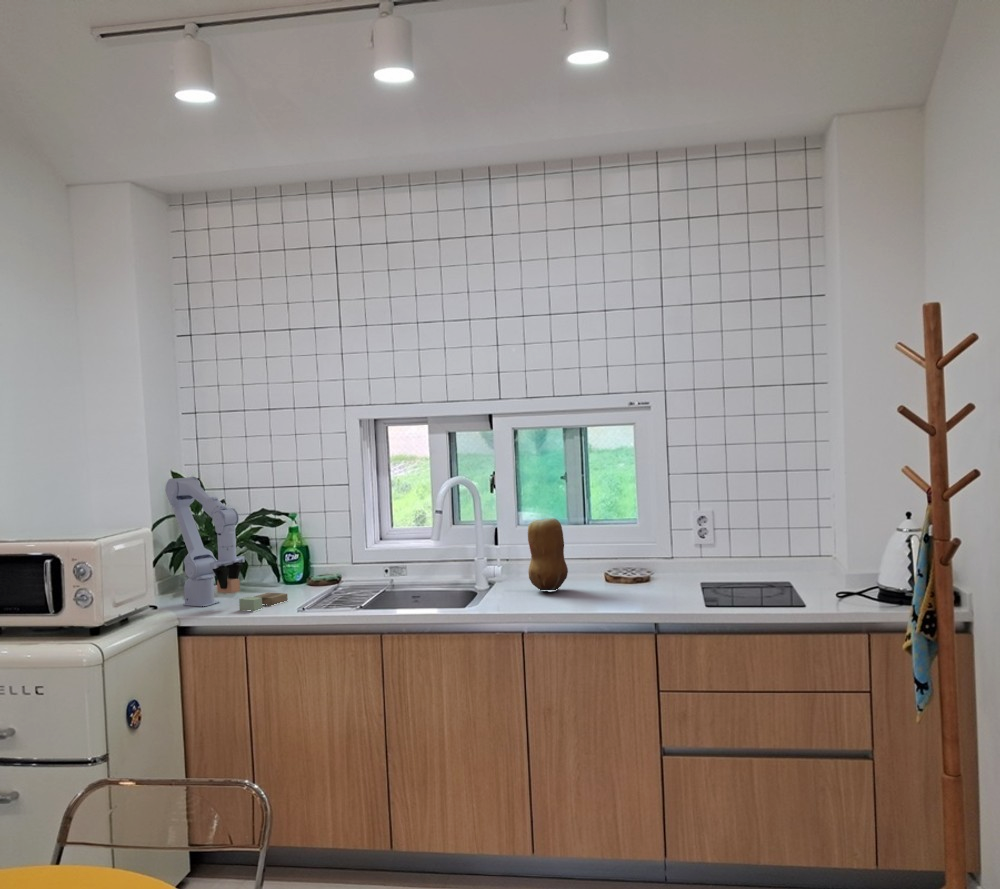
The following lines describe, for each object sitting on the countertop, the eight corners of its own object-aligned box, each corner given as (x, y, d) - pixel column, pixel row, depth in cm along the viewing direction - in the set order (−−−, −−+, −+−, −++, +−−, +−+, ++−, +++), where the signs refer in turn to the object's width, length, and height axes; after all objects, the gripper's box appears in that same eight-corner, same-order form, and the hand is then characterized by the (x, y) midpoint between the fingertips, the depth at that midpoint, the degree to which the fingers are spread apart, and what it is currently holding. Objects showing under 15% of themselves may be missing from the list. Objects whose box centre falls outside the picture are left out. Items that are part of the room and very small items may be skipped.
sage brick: (239, 611, 309) (239, 599, 309) (248, 608, 313) (247, 596, 313) (254, 612, 307) (253, 600, 306) (262, 609, 310) (262, 597, 310)
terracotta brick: (217, 592, 313) (217, 580, 313) (226, 590, 317) (225, 578, 316) (231, 593, 310) (231, 581, 310) (240, 591, 314) (239, 579, 314)
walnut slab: (253, 605, 319) (252, 596, 319) (268, 601, 326) (268, 592, 326) (272, 607, 315) (272, 598, 315) (287, 602, 323) (287, 593, 322)
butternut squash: (529, 588, 330) (526, 516, 329) (568, 587, 329) (565, 515, 328) (528, 596, 316) (526, 521, 315) (569, 595, 315) (567, 520, 315)
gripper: (220, 549, 305) (222, 592, 305) (251, 543, 318) (252, 583, 318) (203, 548, 308) (205, 590, 308) (234, 542, 321) (236, 582, 321)
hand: (228, 587), depth 313 cm, fingers closed on terracotta brick, 4 cm apart
